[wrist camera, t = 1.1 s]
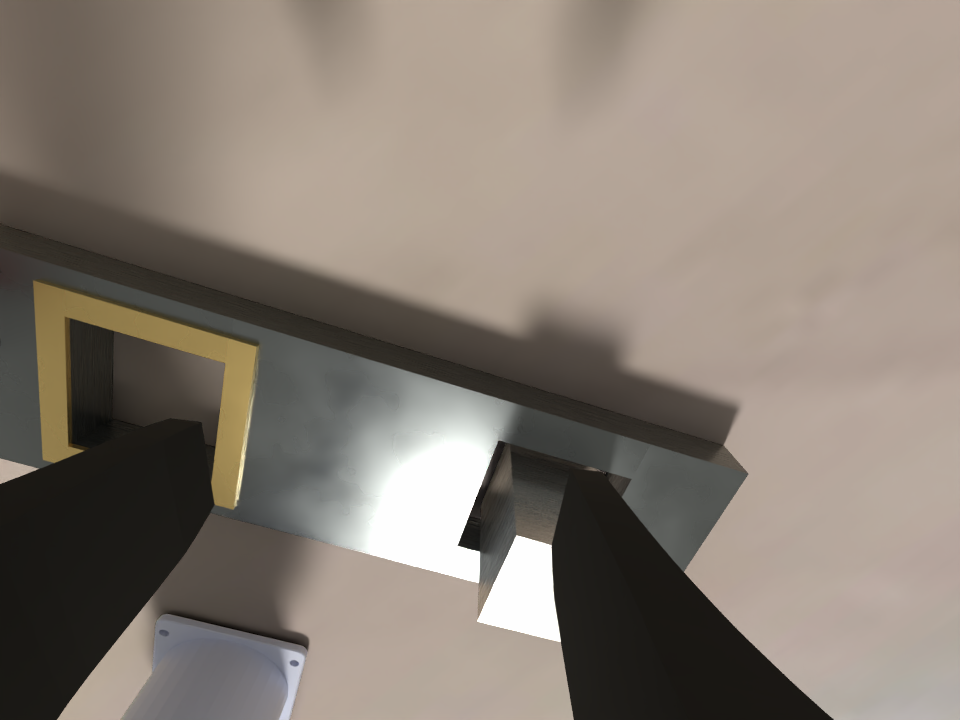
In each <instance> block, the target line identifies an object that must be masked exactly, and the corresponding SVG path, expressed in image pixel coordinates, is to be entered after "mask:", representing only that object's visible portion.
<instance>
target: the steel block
mask: <svg viewBox="0 0 960 720" xmlns="http://www.w3.org/2000/svg"><path fill="white" fill-rule="evenodd" d="M570 468H575V469H583V470H591V471H598V469H595V468H592V467H589V466H585V465H582V464H578V463H575V462H571V461H568V460H565V459H561V458H558V457H554V456H551V455H547V454H544V453H541V452H537V451H534V450H530V449H527V448H524V447H520V446H517V445H513V444H510V443H506V444H505V447H504V449H503V452H502V454H501V457H500V459H499V462H498V464H497V467H496V469H495V472H494V474H493V477H492V479H491V482H490V484H489V487H488V489H487V492H486V494H485V496H484V499H483V501H482V504H481V525H480V559H479V592H478V621H479V622H483V623H487V624H491V625H495V626H499V627H503V628H507V629H511V630H515V631H519V632H523V633H527V634H531V635H535V636H539V637H543V638H547V639H551V640H555V641H559V642H561V639H560V633H559V627H558V621H557V614H556V608H555V602H554V590H553V574H552V551H551V545H552V541H553V537H554V533H555V529H556V525H557V521H558V516H559V512H560V508H561V504H562V500H563V496H564V492H565V488H566V484H567V479H568V475H569V471H570Z"/></svg>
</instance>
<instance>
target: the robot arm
mask: <svg viewBox="0 0 960 720" xmlns="http://www.w3.org/2000/svg"><path fill="white" fill-rule="evenodd" d="M214 505H215V504H214V497H213V491H212V485H211V479H210V473H209V466H208V460H207V454H206V448H205V442H204V435H203V429H202V423H201V422H194V421H186V420H178V419H167V420H164V421H161V422H158V423H155V424H152V425H149V426H146V427H143V428H141V429H138V430H135V431H133V432H130V433H128V434H125V435H123V436H120V437H118V438H115V439H112V440H110V441H107V442H105V443H103V444H100V445H98V446H95V447H93V448H90V449H88V450H85V451H83V452H80V453H78V454H75V455H73V456H70V457H68V458H65V459H63V460H60V461H58V462H55V463H53V464H50V465H48V466H45V467H43V468H40V469H38V470H35V471H33V472H30V473H28V474H25V475H23V476H20V477H18V478H15V479H12V480H10V481H7V482H5V483H2V484H0V720H57V719H58V717H59V716H60V714H61V713H62V711H63V710H64V708H65V707H66V706H67V704H68V703H69V701H70V700H71V699H72V697H73V696H74V695H75V693H76V692H77V691H78V689H79V688H80V687H81V685H82V684H83V683H84V681H85V680H86V679H87V677H88V676H89V675H90V673H91V672H92V671H93V670H94V668H95V667H96V666H97V665H98V663H99V662H100V661H101V660H102V658H103V657H104V656H105V655H106V653H107V652H108V651H109V650H110V648H111V647H112V646H113V645H114V643H115V642H116V641H117V639H118V638H119V637H120V636H121V634H122V633H123V632H124V631H125V629H126V628H127V627H128V626H129V624H130V623H131V622H132V621H133V619H134V618H135V617H136V616H137V614H138V613H139V612H140V611H141V609H142V608H143V607H144V606H145V604H146V603H147V602H148V601H149V599H150V598H151V597H152V596H153V594H154V593H155V592H156V590H157V589H158V588H159V587H160V585H161V584H162V583H163V582H164V580H165V579H166V578H167V576H168V575H169V574H170V573H171V571H172V570H173V569H174V567H175V566H176V565H177V564H178V562H179V561H180V560H181V558H182V557H183V556H184V554H185V553H186V551H187V550H188V548H189V547H190V545H191V544H192V542H193V540H194V539H195V537H196V536H197V534H198V532H199V531H200V529H201V527H202V526H203V524H204V522H205V521H206V519H207V517H208V515H209V514H210V512H211V510H212V509H213V507H214ZM551 551H552V574H553V590H554V602H555V608H556V614H557V621H558V627H559V633H560V639H561V645H562V651H563V657H564V663H565V669H566V675H567V681H568V687H569V693H570V699H571V705H572V711H573V717H574V720H833V719H832V718H831V717H830V716H829V715H828V714H827V713H825V712H824V711H823V710H822V709H821V708H820V707H819V706H818V705H816V704H815V703H814V702H813V701H812V700H811V699H810V698H809V697H808V696H807V695H805V694H804V693H803V692H802V691H801V690H800V689H799V688H798V687H797V686H796V685H794V684H793V683H792V682H791V681H790V680H789V679H788V678H787V677H786V676H785V675H784V674H783V673H782V672H781V671H780V670H779V669H778V668H777V667H776V666H774V665H773V664H772V663H771V662H770V661H769V660H768V659H767V658H766V657H765V656H764V655H763V654H762V653H761V652H760V651H759V650H758V649H757V648H756V647H755V646H754V645H753V644H752V643H750V642H749V641H748V640H747V639H746V638H745V637H744V636H743V635H742V634H741V633H740V632H739V631H738V630H737V629H736V628H735V627H734V626H733V625H732V624H731V623H730V622H729V620H728V619H727V618H726V617H725V616H724V615H723V614H722V613H721V612H720V611H719V610H718V609H717V608H716V607H715V606H714V605H713V603H712V602H711V601H710V600H709V599H708V598H707V597H706V596H705V595H704V594H703V593H702V592H701V591H700V590H699V588H698V587H697V586H696V585H695V584H694V583H693V582H692V581H691V580H690V579H689V577H688V576H687V575H686V574H685V573H684V572H683V571H682V570H681V568H680V567H679V566H678V565H677V564H676V563H675V562H674V560H673V559H672V558H671V557H670V556H669V555H668V553H667V552H666V551H665V550H664V549H663V548H662V546H661V545H660V544H659V543H658V542H657V540H656V539H655V538H654V537H653V536H652V534H651V533H650V532H649V531H648V529H647V528H646V527H645V526H644V525H643V523H642V522H641V521H640V520H639V518H638V517H637V516H636V515H635V513H634V512H633V511H632V510H631V508H630V507H629V506H628V505H627V503H626V502H625V501H624V499H623V498H622V497H621V496H620V494H619V493H618V492H617V490H616V489H615V488H614V487H613V485H612V484H611V483H610V482H609V480H608V479H607V478H606V477H605V475H604V474H603V473H602V472H599V471H591V470H583V469H575V468H570V471H569V475H568V479H567V484H566V488H565V492H564V496H563V500H562V504H561V508H560V512H559V516H558V521H557V525H556V529H555V533H554V537H553V541H552V545H551ZM306 657H307V650H306V648H305V647H303V646H301V645H298V644H294V643H289V642H285V641H281V640H277V639H272V638H268V637H264V636H260V635H256V634H251V633H247V632H243V631H239V630H234V629H230V628H226V627H222V626H218V625H213V624H209V623H205V622H201V621H196V620H192V619H188V618H184V617H180V616H175V615H171V614H164V615H162V616H160V617H159V619H158V620H157V621H156V625H155V639H154V653H153V668H152V674H151V676H150V677H149V679H148V680H147V682H146V683H145V685H144V686H143V687H142V689H141V690H140V692H139V693H138V695H137V696H136V698H135V699H134V701H133V702H132V704H131V705H130V706H129V708H128V709H127V711H126V712H125V714H124V715H123V717H122V718H121V720H290V718H291V714H292V710H293V706H294V703H295V699H296V695H297V691H298V687H299V683H300V680H301V676H302V672H303V668H304V664H305V661H306Z"/></svg>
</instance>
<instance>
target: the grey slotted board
mask: <svg viewBox="0 0 960 720" xmlns="http://www.w3.org/2000/svg"><path fill="white" fill-rule="evenodd" d="M113 331H116V332H120V333H123V334H127V335H130V336H133V337H137V338H140V339H144V340H147V341H151V342H154V343H157V344H161V345H164V346H168V347H171V348H175V349H178V350H181V351H185V352H188V353H192V354H195V355H199V356H202V357H205V358H209V359H212V360H216V361H219V362H223V363H226V364H225V372H224V381H223V389H222V398H221V406H220V415H219V423H218V432H217V440H216V447H213V446H209V445H205V448H206V454H207V460H208V466H209V473H210V479H211V485H212V491H213V497H214V504H215V505H214V507H213V509H212V510H211V512H210V513H213V514H217V515H220V516H224V517H228V518H232V519H236V520H240V521H244V522H247V523H251V524H255V525H259V526H263V527H267V528H270V529H274V530H278V531H282V532H286V533H290V534H294V535H297V536H301V537H305V538H309V539H313V540H317V541H320V542H324V543H328V544H332V545H336V546H340V547H344V548H347V549H351V550H355V551H359V552H363V553H367V554H371V555H374V556H378V557H382V558H386V559H390V560H394V561H397V562H401V563H405V564H409V565H413V566H417V567H421V568H424V569H428V570H432V571H436V572H440V573H444V574H448V575H451V576H455V577H459V578H463V579H467V580H471V581H474V582H478V583H479V559H480V525H481V520H479V519H476V518H472V517H468V516H469V514H470V511H471V509H472V506H473V504H474V501H475V499H476V496H477V494H478V491H479V488H480V486H481V483H482V481H483V478H484V476H485V473H486V471H487V468H488V466H489V463H490V461H491V458H492V456H493V453H494V450H495V448H496V445H497V443H498V440H500V441H503V442H506V443H510V444H513V445H517V446H520V447H524V448H527V449H530V450H534V451H537V452H541V453H544V454H547V455H551V456H554V457H558V458H561V459H565V460H568V461H571V462H575V463H578V464H582V465H585V466H589V467H592V468H595V469H599V470H602V471H606V472H607V474H606V476H605V477H606V478H607V479H608V480H609V482H610V483H611V484H612V485H613V487H614V488H615V489H616V490H617V492H618V493H619V494H620V496H621V497H622V498H623V499H624V501H625V502H626V503H627V505H628V506H629V507H630V508H631V510H632V511H633V512H634V513H635V515H636V516H637V517H638V518H639V520H640V521H641V522H642V523H643V525H644V526H645V527H646V528H647V529H648V531H649V532H650V533H651V534H652V536H653V537H654V538H655V539H656V540H657V542H658V543H659V544H660V545H661V546H662V548H663V549H664V550H665V551H666V552H667V553H668V555H669V556H670V557H671V558H672V559H673V560H674V562H675V563H676V564H677V565H678V566H679V567H680V568H681V570H682V571H683V572H684V571H685V569H686V568H687V566H688V564H689V563H690V561H691V560H692V558H693V557H694V555H695V554H696V552H697V551H698V549H699V548H700V546H701V545H702V543H703V542H704V540H705V539H706V537H707V536H708V534H709V533H710V531H711V530H712V528H713V527H714V525H715V524H716V522H717V521H718V519H719V518H720V516H721V515H722V513H723V512H724V510H725V509H726V507H727V506H728V504H729V503H730V501H731V500H732V498H733V497H734V495H735V494H736V492H737V491H738V489H739V488H740V486H741V484H742V483H743V481H744V480H745V478H746V477H747V475H748V473H747V472H746V470H745V469H744V468H743V467H742V466H741V465H740V464H739V462H738V461H737V460H736V459H735V458H734V457H733V456H732V454H731V453H730V452H729V451H728V450H727V449H726V448H725V446H723V445H719V444H716V443H713V442H709V441H706V440H703V439H700V438H696V437H693V436H690V435H687V434H683V433H680V432H677V431H674V430H670V429H667V428H664V427H660V426H657V425H654V424H651V423H647V422H644V421H641V420H638V419H634V418H631V417H628V416H625V415H621V414H618V413H615V412H611V411H608V410H605V409H602V408H598V407H595V406H592V405H589V404H585V403H582V402H579V401H576V400H572V399H569V398H566V397H563V396H559V395H556V394H553V393H549V392H546V391H543V390H540V389H536V388H533V387H530V386H527V385H523V384H520V383H517V382H514V381H510V380H507V379H504V378H500V377H497V376H494V375H491V374H487V373H484V372H481V371H478V370H474V369H471V368H468V367H465V366H461V365H458V364H455V363H451V362H448V361H445V360H442V359H438V358H435V357H432V356H429V355H425V354H422V353H419V352H416V351H412V350H409V349H406V348H402V347H399V346H396V345H393V344H389V343H386V342H383V341H380V340H376V339H373V338H370V337H367V336H363V335H360V334H357V333H354V332H350V331H347V330H344V329H340V328H337V327H334V326H331V325H327V324H324V323H321V322H318V321H314V320H311V319H308V318H305V317H301V316H298V315H295V314H291V313H288V312H285V311H282V310H278V309H275V308H272V307H269V306H265V305H262V304H259V303H256V302H252V301H249V300H246V299H242V298H239V297H236V296H233V295H229V294H226V293H223V292H220V291H216V290H213V289H210V288H207V287H203V286H200V285H197V284H193V283H190V282H187V281H184V280H180V279H177V278H174V277H171V276H167V275H164V274H161V273H158V272H154V271H151V270H148V269H145V268H141V267H138V266H135V265H131V264H128V263H125V262H122V261H118V260H115V259H112V258H109V257H105V256H102V255H99V254H96V253H92V252H89V251H86V250H82V249H79V248H76V247H73V246H69V245H66V244H63V243H60V242H56V241H53V240H50V239H47V238H43V237H40V236H37V235H33V234H30V233H27V232H24V231H20V230H17V229H14V228H11V227H7V226H4V225H1V224H0V458H1V459H5V460H9V461H13V462H16V463H20V464H24V465H28V466H32V467H36V468H43V467H45V466H48V465H50V464H53V463H55V462H58V461H60V460H63V459H65V458H68V457H70V456H73V455H75V454H78V453H80V452H83V451H85V450H88V449H90V448H93V447H95V446H98V445H100V444H103V443H105V442H107V441H110V440H112V439H115V438H118V437H120V436H123V435H125V434H128V433H130V432H133V431H135V430H138V429H141V428H143V427H140V426H136V425H132V424H129V423H125V422H121V421H118V420H114V419H112V375H113Z"/></svg>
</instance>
